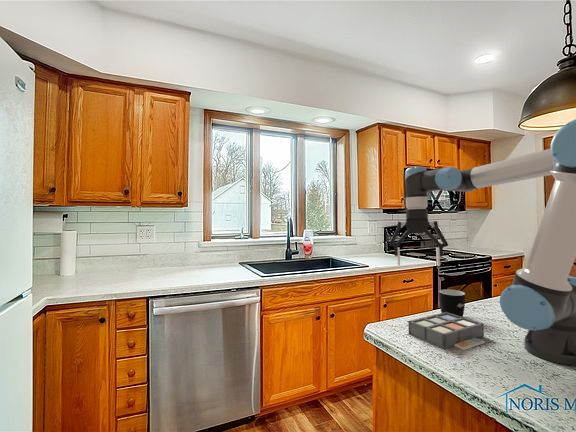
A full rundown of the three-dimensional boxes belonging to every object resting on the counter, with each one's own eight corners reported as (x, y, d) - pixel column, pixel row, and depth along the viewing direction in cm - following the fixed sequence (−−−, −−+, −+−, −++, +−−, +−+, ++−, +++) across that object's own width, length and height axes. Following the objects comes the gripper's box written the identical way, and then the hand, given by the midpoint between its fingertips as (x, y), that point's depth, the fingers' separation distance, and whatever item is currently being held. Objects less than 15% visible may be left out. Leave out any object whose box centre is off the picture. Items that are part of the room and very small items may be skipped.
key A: (458, 324, 106) (458, 318, 106) (450, 326, 104) (450, 320, 104) (447, 320, 110) (447, 314, 110) (438, 322, 108) (438, 317, 108)
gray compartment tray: (493, 340, 97) (493, 326, 97) (454, 353, 89) (453, 338, 89) (446, 323, 112) (446, 312, 112) (408, 333, 103) (408, 321, 103)
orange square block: (464, 333, 98) (464, 327, 98) (455, 336, 96) (455, 329, 96) (451, 328, 102) (451, 323, 102) (443, 331, 100) (443, 325, 100)
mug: (458, 323, 112) (458, 296, 112) (435, 317, 119) (434, 291, 119) (473, 317, 119) (472, 291, 119) (449, 311, 126) (449, 287, 126)
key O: (476, 330, 101) (476, 324, 101) (467, 332, 99) (467, 326, 99) (463, 325, 105) (463, 320, 105) (454, 328, 103) (454, 322, 103)
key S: (452, 337, 95) (452, 330, 95) (443, 339, 93) (443, 333, 93) (440, 332, 99) (440, 326, 99) (430, 334, 97) (430, 328, 97)
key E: (436, 330, 101) (435, 324, 101) (426, 333, 99) (426, 327, 99) (424, 326, 105) (424, 320, 105) (415, 328, 103) (415, 322, 103)
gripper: (451, 207, 113) (453, 264, 112) (382, 210, 121) (383, 262, 121) (455, 207, 106) (457, 267, 105) (381, 209, 114) (383, 265, 114)
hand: (418, 265), depth 113 cm, fingers open, 13 cm apart
